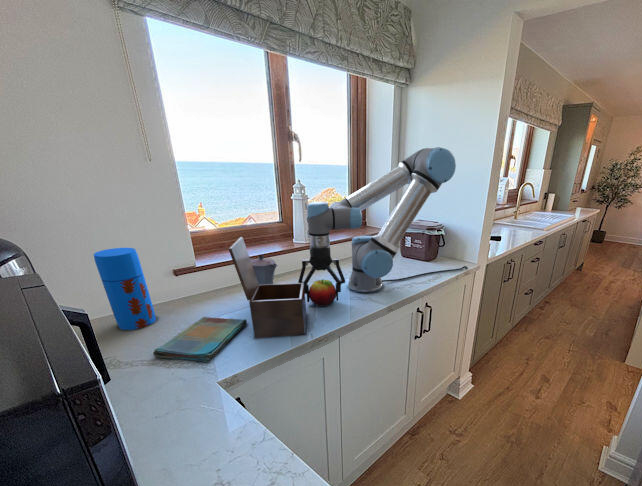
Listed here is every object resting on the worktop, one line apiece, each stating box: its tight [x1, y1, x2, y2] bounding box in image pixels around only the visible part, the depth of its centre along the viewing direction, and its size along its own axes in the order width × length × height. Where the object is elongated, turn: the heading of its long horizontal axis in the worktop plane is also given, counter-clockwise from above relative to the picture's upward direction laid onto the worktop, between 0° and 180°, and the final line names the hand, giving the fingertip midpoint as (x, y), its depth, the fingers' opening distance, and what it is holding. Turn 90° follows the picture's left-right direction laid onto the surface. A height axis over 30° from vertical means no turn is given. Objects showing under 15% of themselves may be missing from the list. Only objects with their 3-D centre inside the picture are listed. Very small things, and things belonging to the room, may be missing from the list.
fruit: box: [309, 279, 336, 307], centre depth 127 cm, size 11×11×10 cm
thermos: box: [93, 247, 157, 331], centre depth 106 cm, size 11×11×25 cm
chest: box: [248, 282, 307, 339], centre depth 109 cm, size 16×15×13 cm
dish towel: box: [152, 316, 248, 363], centre depth 102 cm, size 17×23×2 cm
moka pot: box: [250, 254, 278, 285], centre depth 124 cm, size 10×15×20 cm, turn 78°
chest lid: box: [228, 236, 258, 301], centre depth 101 cm, size 16×15×1 cm
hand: (323, 300), depth 129 cm, fingers closed on fruit, 11 cm apart
